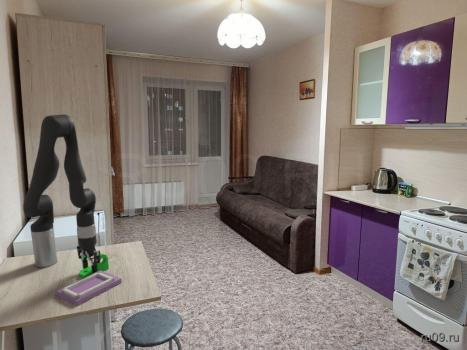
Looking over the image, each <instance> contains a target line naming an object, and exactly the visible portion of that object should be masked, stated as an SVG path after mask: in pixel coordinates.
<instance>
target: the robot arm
mask: <svg viewBox="0 0 467 350" xmlns="http://www.w3.org/2000/svg"><path fill="white" fill-rule="evenodd" d="M58 138H59V139H60V138H63V140H64V143H65V156H64V161H63V170H64V173H65V176H66V179H67V182H68V190H69V192H68V193H69V200H70V202H71V204H72V205H73V207H74V208H76V209H79V211H78V212H77V213H76V216H75V218H76V219H75V221H76V236H77V237H76V238H77V246H76V250H77V256H78V259H79V260H80V261H81V263H82V270H83V269H85V268H87V267H89V262H90V266H91V267H92V273H95V272H97V264H98V263H100V262H101V260H100V254H101V251H100V250H97V249H96V245H97V244H98V237H97V229H96V223H95V215H94V214H95V208H96V201H97V197H96V194H95V192H94V190H93V189H91V188H84V184H85V183H86V182H87V177H86V176H87V175H86V173H85V170H84V167H83V163H82V160H81V156H80V148H79V143H78V135H77V129H76V125H75V122H74V120H73V118H72V117H71V116H70V115H68V114H52V115H50V114H49V115H46V116H45V117H44V118H43V120H42V122H41V126H40V135H39V144H38V150H37V154H36V159H35V161H34V162H35V163H34V167H33V170H32V176H31V179H30V184H29V187H28V190H27V192H26V194H25V197H24V201H23V204H22V208H23V209H22V210H23V214H24V215H25V216H26V217H28V218H37V217H38V218H37V219H36V220H34V222H32V223H31V224H30V225H29V226H30V228H29V229H30V234H31V243H32V251H33V258H34V265H35V267H36V268H46V267H51V266H53V265H56V263H58V256H57V246H56V238H55V230H54V222H55V216H54V215H55V214H54V203H53V200H52V198H51V196H49V195H48V194H44V193H45V191H46V190H47V189H48V188H49V187H50V185H52V184H53V183H54V181H55V179H57V176H58V174H59V173H58V172H59V169H60V164H61V163H60V161H59V157H58V155H57V153H56V151H55V147H56V143H57V141H58ZM97 259H98V261H97Z"/></svg>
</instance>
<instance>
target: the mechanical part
mask: <svg viewBox="0 0 467 350" xmlns="http://www.w3.org/2000/svg"><path fill="white" fill-rule="evenodd" d="M97 261H98V259H97ZM109 269H110V268H109V257H108V255H107V254H105V253H101V252H100V263H98V264H97V272H98V271H100V270H101V271H104V272H106V271H107V270H109ZM78 273H79V278H80V279H83V278H85V277H87V276H89V275H91V274H94V273H92V267H91V265H89V266H88V267H87V268H85V269H83V268H82V269H81V270H80V271H79V272H78ZM95 273H96V272H95Z"/></svg>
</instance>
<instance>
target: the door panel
mask: <svg viewBox="0 0 467 350" xmlns="http://www.w3.org/2000/svg"><path fill="white" fill-rule="evenodd" d="M122 282H123V281H122V278H121V277H119V276H116V275H114V274H111V273H109V272H106V271H101V270H100V271H98V272H96V273H94V274H91V275H89V276H87V277H85V278H83V279H82V278H80V279H78V280H76V281H74V282H72V283H70V284H68V285H65V286H63V287H61V288H59V289H57V290H55V293H56V294H55V295H56V296H58V297H60V298H61V299H63V300H66V301H67V302H70V303H72V304H73V305H76V306H79V305H81V304H83V303H85V302H86V301H89V300H91V299H93V298H94V297H96V296H98V295H100V294H102V293H104V292H106V291H108V290H109V289H113V288H114V287H116V286H117V285H119V284H121V283H122Z"/></svg>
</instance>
